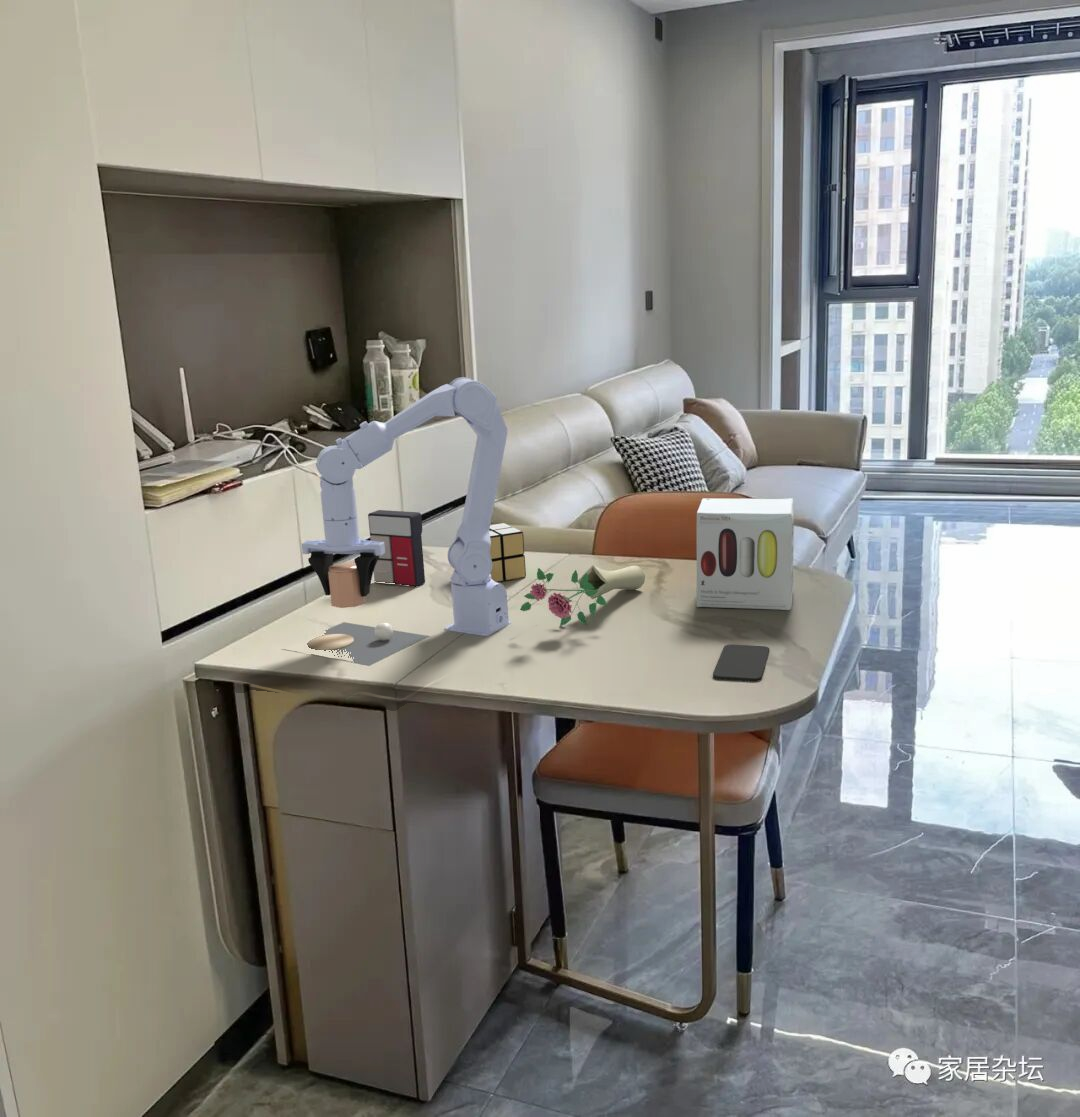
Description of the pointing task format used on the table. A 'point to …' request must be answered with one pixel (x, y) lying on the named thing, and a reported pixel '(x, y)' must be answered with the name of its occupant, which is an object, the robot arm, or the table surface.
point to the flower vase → (586, 589)
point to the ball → (383, 631)
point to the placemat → (372, 642)
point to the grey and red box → (398, 547)
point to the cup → (345, 585)
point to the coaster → (330, 642)
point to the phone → (741, 663)
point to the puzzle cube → (506, 553)
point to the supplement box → (745, 553)
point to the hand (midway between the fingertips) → (347, 594)
